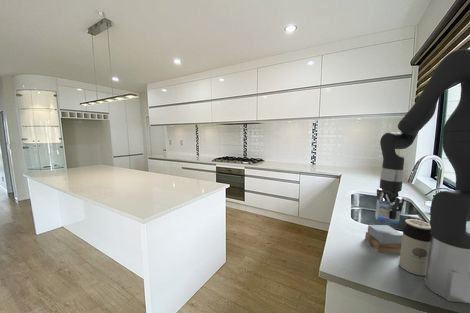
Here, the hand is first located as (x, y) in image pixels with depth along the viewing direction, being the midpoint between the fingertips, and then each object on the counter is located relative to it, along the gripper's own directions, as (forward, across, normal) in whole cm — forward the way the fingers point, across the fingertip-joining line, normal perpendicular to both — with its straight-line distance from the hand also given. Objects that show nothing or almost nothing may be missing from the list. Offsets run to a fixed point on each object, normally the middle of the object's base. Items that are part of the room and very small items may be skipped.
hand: (387, 215), depth 86 cm
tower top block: (+11, 0, 0) cm, 11 cm away
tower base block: (+15, 0, 0) cm, 15 cm away
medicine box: (+2, 0, 0) cm, 2 cm away
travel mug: (+14, -15, -1) cm, 21 cm away
